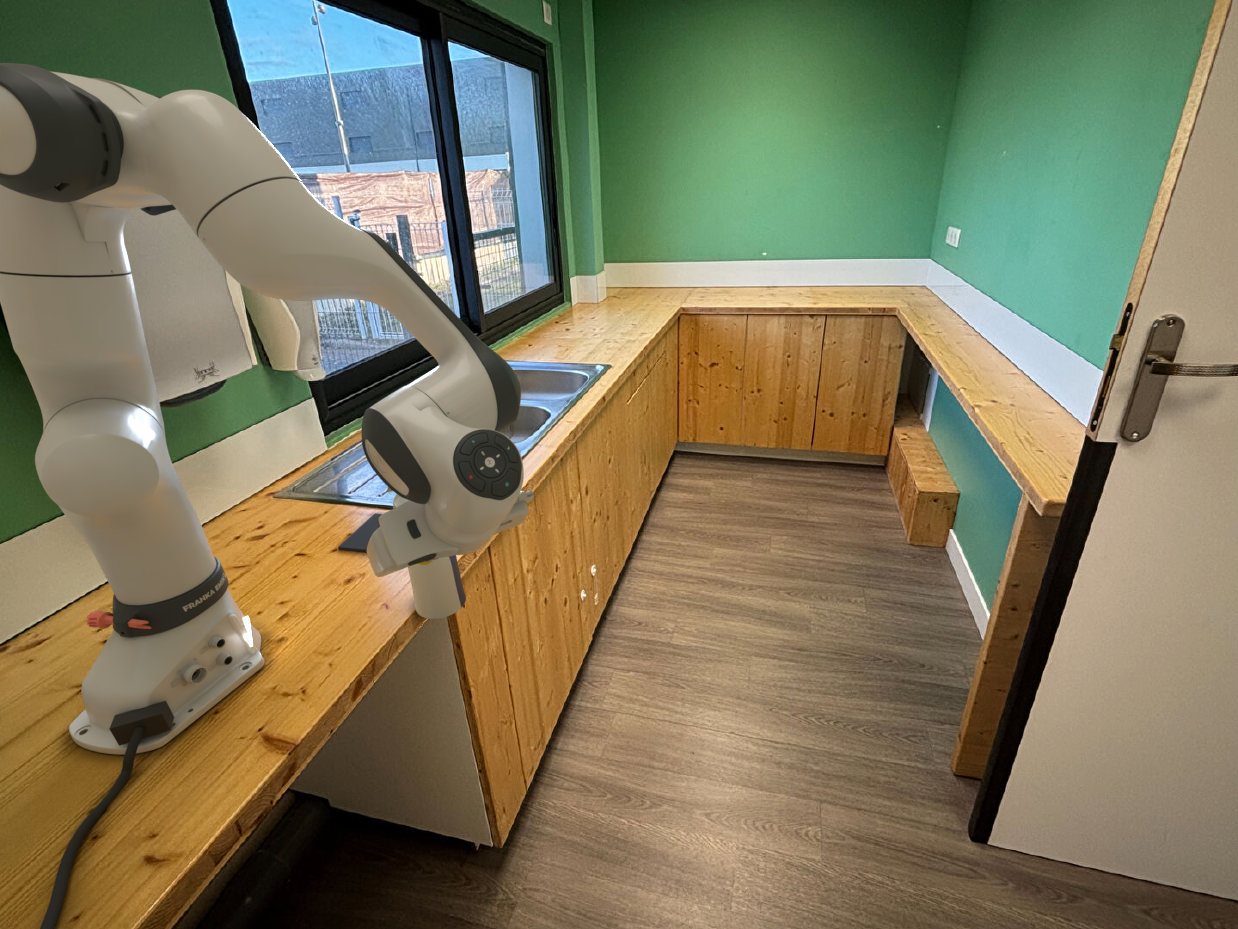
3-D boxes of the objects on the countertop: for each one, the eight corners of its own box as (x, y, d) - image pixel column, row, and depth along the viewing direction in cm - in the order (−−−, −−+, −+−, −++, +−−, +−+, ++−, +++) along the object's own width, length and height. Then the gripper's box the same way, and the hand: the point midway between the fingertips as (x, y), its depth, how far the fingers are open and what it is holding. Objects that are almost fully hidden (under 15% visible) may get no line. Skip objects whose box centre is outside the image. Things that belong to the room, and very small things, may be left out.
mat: (398, 555, 107) (397, 552, 106) (338, 549, 109) (337, 547, 109) (430, 520, 117) (430, 517, 117) (375, 515, 120) (374, 513, 119)
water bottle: (463, 619, 90) (435, 472, 79) (407, 621, 91) (370, 474, 80) (474, 585, 98) (450, 446, 87) (422, 587, 98) (391, 448, 87)
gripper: (527, 467, 77) (502, 504, 89) (364, 519, 67) (359, 553, 78) (548, 510, 76) (520, 542, 87) (384, 571, 65) (377, 598, 77)
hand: (443, 548), depth 83 cm, fingers closed
